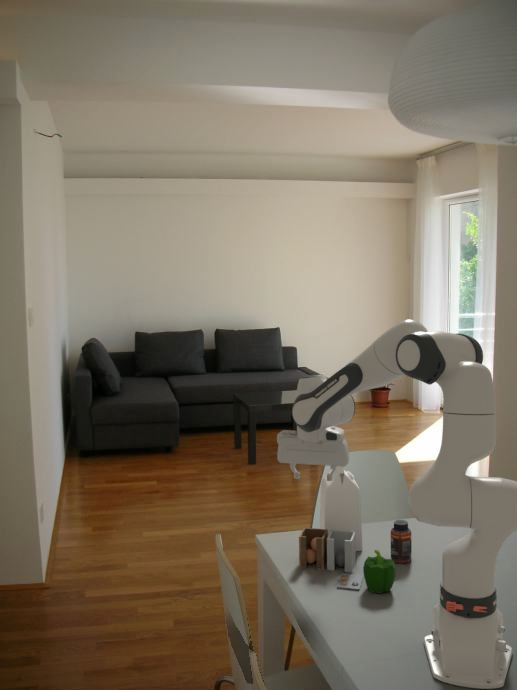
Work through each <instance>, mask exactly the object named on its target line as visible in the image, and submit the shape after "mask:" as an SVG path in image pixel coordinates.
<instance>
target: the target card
mask: <svg viewBox="0 0 517 690" xmlns="http://www.w3.org/2000/svg"><path fill="white" fill-rule="evenodd" d="M363 581H364V575H357V574H356V575H355V574H349V573H348V574H345V573H341V574H340V577H339V580H338V582H337V585H336V589H340V590H348V591H349V590H351V591H360V590H361V586H362V583H363Z"/></svg>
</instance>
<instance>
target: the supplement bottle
mask: <svg viewBox="0 0 517 690" xmlns="http://www.w3.org/2000/svg"><path fill="white" fill-rule="evenodd" d="M412 545H413V544H412V531H411V529H410V528H409V522H408V521H406V520H404V519H397V520H394V521H393V527H392V528H391V530H390V559H392V560H393V563H397V564H408V563H409V562H411V561H412V550H413V549H412Z"/></svg>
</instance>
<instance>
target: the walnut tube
mask: <svg viewBox="0 0 517 690" xmlns="http://www.w3.org/2000/svg"><path fill="white" fill-rule="evenodd" d="M316 537H320V538H316ZM314 538H316V554H317V560H316V569H317V570H325V567H326V566H327V538H328V530H327V529H320V528H313V527H303V529H302V530H301V532H300V533H299V536H298V561H299V562H298V563H299V564H298V565H299V566H298V567H299V568H306V569H307V566H308V565H307V563H308V562H307V557H306V550H307V549H312V547H311V541H312V540H313V539H314Z"/></svg>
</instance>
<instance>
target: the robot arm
mask: <svg viewBox="0 0 517 690" xmlns="http://www.w3.org/2000/svg"><path fill="white" fill-rule="evenodd" d="M483 362H484V351H483V348H482V346H481V344H480V343H479V341H478V340H477V339H475V338H474V337H472V336H470V335H467V334H464V333H454V332H453V333H452V332H447V331H446V332H445V331H439V330H437V331H436V330H435V331H433V330H432V331H428V329H427V328H426V327H425V325H424V324H423V323H421V322H419V321H417V320H415V319H404V320H402V321H400V322H398V323H396V324H395V325H393V326H391V327H390V328H388V329H387V330H386V331H385V332H383V333H382V334H381V335H379V336H378V337H377V338H376V339H375V340H374V341H373V342H372V343H371V344H370V345H368V347H366V348H365V349H364V350H363V351H362V352H361V353H359V355H357V356H356V357H355V358H354V359H352V360H351V361H350V362H349V363H347V364H345V365H344V367H342V368H341V369H339V370H338V371H336V372H335V373H333V374H332V375H331V376H330V377H329V378H327V376H326V375H324V374H320V373H319V374H312V375H305V376H302V377H300V378H299V379H298V383H297V386H296V387H297V388H296V398H295V400H294V401H293V404H292V407H291V418H292V420H293V421H294V423H295V425H296V430H286V429H284V430H281V431H279V432H278V433H277V436H276V442H277V444H278V446H277V454H276V455H277V457H276V459H277V461H278V462H279V463H280V464H289V468H290V470H291V472H292V473H293V479H295V480H299V479H300V478H301V475H300V474H301V471H298V469H297V468H296V466H297V465H312V466H313V465H314V466H326V467H327V466H330V470H332V469H333V470H332V472H331V473H329V472H328V473H326V475H327V481H332V480H333V473H334V471H335V470H336V468H337V466H344V467H346V466H348V464H349V461H350V452H349V451H350V449H349V445H348V442H347V439H345V438H344V437H345V435H346V434H345V430H344V429H343V428H340V427H338V426H339V425H345V424H347V423H349V422H351V421H352V420H353V419H354V416H355V414H356V402H355V398H354V396H353V394H357V393H360V392H363V391H367V390H372V389H373V390H374V389H377V388H382V387H386V386H389V385H391V384H392V383H395V382H397V381H399V380H400V379H401V378H403V377H404V376H407V377H410V378H412V379H413V380H414V379H415V380H417V381H420V382H423V383H425V384H427V385H432V384H434V383H436V384H437V385H438V386H439V387H440V388H441V391H442V398H443V400H442V401H443V402H442V403H443V404H442V407H443V408H442V434H441V435H442V436H441V445H440V449H439V452H438V455H437V458H436V459H435V461H434V462H433V464H432V465H431V466H430V467H429V469H428V470H427V471H425V473H424V474H422V475H420V476H419V477H418V478H417V479H415V481H414V482H413V483H412V484H411V486H410V488H409V491H408V499H407V501H408V507H409V510H410V512H411V514H412V515H413V518H415V519H416V520H417V521H418V522H420V523H423V524H427V525H432V526H436V527H446V528H464V529H465V528H466V529H467V528H468V529H470V530H469V532H467V534H466V535H464V536H463V537H460V538H458V539H455V540H453V541H452V542H450V543H449V544H448V545H447V546H446V548H444V550H443V553H442V562H441V563H442V565H441V567H442V571H441V572H442V574H441V577H442V578H441V579H442V580H441V582H440V585H439V586H440V587H439V602H438V603H437V604H435V606H433V608H432V609H433V611H432V612H433V614H432V615H433V617H432V629H431V634H428V635H426V636H424V637H423V646H424V648H425V652H426V656H427V660H428V663H429V666H430V667H429V668H430V670H431V674H432V677H433V678H434V679H436V680H438V681H441V682H442V683H445V684H446V683H447V684H450V685H453V686H458V687H462V688H463V687H464V688H469V689H470V688H471V689H481V690H484V689H486V690H493V689H499V688H502V687H504V686H505V681H506V678H507V674H508V670H509V667H510V663H511V659H512V656H513V648H512V646H510V645H508V644H507V641H506V640H504V636H503V634H505V631H506V630H505V629H506V627H505V626H504V615H503V613H501V611H500V610H499V609H498V607H497V602H498V595H497V589H496V587H495V586H496V585H495V584H496V583H495V580H496V566H497V559H498V556H499V553H500V551H501V548H502V546H503V545H504V544H505V542H507V540H508V538H509V537H510V536H511V535H513V534H514V533H515V532H516V531H517V480H513V479H508V478H504V477H498V476H495V477H493V476H472V475H471V476H469V475H466V473H467V471H468V468H469V467H470V466H471V465H472V464H474V463H476V462H479V461H481V460H484V459H486V458H487V457H488V456H490V455H492V453H493V452H494V450H495V448H496V445H497V405H496V394H495V392H496V391H495V387H494V380H493V377H492V376H493V375H492V372H491V370H490V369H489V368H488V367H487V366H486V365H485V364H483Z"/></svg>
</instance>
